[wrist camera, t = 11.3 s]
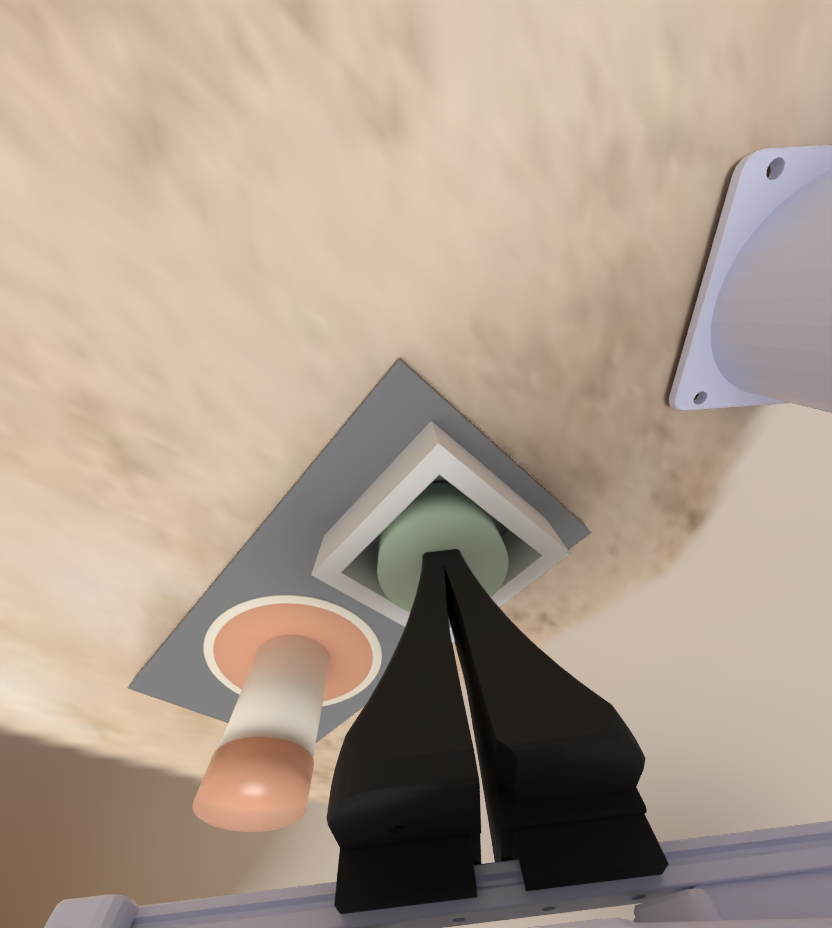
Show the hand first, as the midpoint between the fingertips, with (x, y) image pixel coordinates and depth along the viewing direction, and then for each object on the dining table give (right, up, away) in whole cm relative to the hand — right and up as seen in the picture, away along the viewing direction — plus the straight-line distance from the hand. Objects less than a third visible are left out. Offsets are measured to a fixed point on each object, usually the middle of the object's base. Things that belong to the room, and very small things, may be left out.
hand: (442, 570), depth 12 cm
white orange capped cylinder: (-8, -7, +6) cm, 12 cm away
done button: (0, +1, +2) cm, 2 cm away
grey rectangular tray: (-5, -4, +5) cm, 8 cm away
